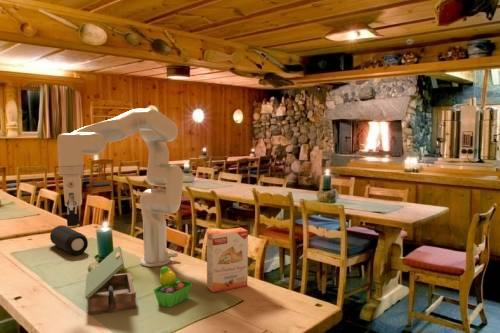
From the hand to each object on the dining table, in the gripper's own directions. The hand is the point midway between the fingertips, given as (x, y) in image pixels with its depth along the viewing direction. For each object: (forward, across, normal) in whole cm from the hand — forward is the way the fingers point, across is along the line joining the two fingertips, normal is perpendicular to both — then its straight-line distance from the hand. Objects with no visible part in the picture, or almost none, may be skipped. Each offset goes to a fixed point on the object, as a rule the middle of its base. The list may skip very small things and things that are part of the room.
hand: (73, 222), depth 140 cm
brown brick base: (+26, -5, -11) cm, 29 cm away
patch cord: (+25, -6, -11) cm, 28 cm away
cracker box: (+26, -8, -51) cm, 58 cm away
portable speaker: (+26, +62, +6) cm, 68 cm away
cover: (+16, -5, -9) cm, 19 cm away
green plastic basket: (+26, -13, -30) cm, 42 cm away
